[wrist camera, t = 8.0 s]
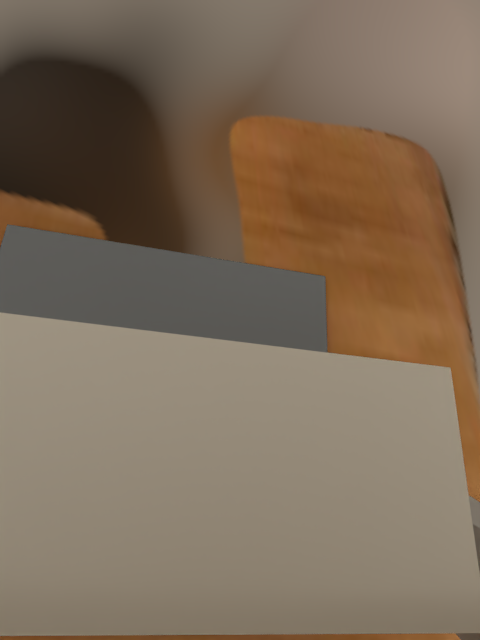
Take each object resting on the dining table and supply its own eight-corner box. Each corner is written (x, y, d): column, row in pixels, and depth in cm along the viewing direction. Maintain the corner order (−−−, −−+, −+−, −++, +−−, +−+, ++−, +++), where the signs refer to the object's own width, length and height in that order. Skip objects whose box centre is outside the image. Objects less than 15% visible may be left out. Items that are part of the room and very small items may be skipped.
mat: (-94, 573, 19) (-99, 575, 19) (9, 229, 26) (7, 224, 26) (329, 581, 23) (333, 583, 23) (322, 279, 30) (325, 276, 30)
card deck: (49, 541, 12) (-139, 644, 4) (72, 424, 13) (-32, 304, 5) (263, 547, 13) (488, 638, 5) (266, 440, 14) (449, 364, 6)
